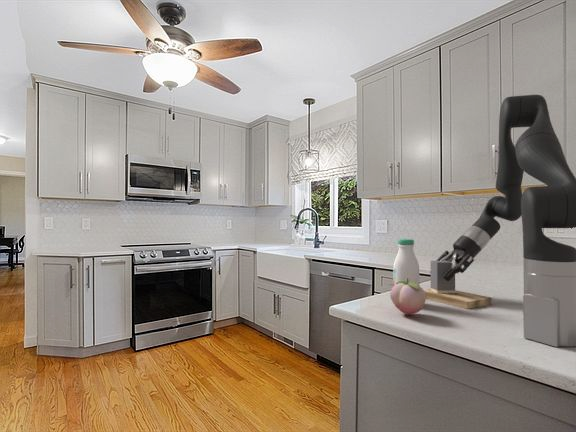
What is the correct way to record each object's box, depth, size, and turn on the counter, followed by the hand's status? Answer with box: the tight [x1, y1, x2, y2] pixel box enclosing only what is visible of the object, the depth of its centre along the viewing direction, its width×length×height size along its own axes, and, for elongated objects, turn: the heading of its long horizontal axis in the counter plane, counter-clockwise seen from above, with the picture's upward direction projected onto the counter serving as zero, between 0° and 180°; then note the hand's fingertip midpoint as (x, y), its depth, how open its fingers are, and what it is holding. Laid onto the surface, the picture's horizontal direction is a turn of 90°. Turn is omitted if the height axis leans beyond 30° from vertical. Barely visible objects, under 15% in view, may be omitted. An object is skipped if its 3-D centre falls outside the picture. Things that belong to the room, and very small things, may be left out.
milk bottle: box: [392, 238, 421, 288], centre depth 100 cm, size 8×8×20 cm
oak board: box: [423, 288, 492, 310], centre depth 104 cm, size 12×17×2 cm
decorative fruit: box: [389, 278, 427, 316], centre depth 88 cm, size 9×8×10 cm
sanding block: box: [430, 260, 456, 293], centre depth 108 cm, size 6×4×10 cm
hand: (438, 276), depth 108 cm, fingers open, 8 cm apart
